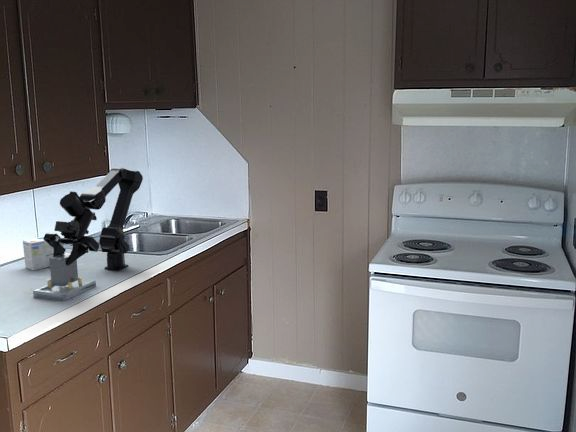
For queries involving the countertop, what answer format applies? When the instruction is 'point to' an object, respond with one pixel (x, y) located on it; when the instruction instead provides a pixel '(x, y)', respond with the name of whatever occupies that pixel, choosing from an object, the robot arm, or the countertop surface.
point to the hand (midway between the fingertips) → (60, 264)
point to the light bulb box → (37, 253)
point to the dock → (63, 290)
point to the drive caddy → (62, 270)
